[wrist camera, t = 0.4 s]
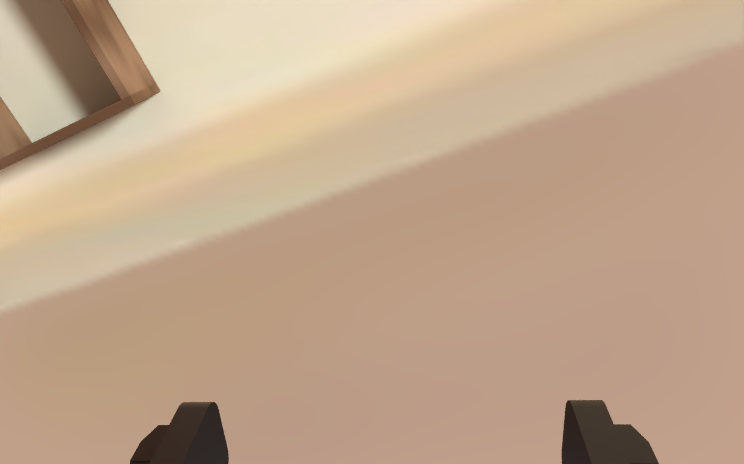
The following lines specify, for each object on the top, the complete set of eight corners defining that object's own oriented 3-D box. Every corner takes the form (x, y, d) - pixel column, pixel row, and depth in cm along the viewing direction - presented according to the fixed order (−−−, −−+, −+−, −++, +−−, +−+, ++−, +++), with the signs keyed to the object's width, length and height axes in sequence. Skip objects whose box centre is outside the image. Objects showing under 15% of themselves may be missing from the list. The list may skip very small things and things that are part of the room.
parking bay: (-70, 9, 39) (-120, 15, 35) (66, -70, 36) (27, -73, 33) (30, 154, 43) (-6, 172, 39) (160, 91, 40) (135, 104, 36)
